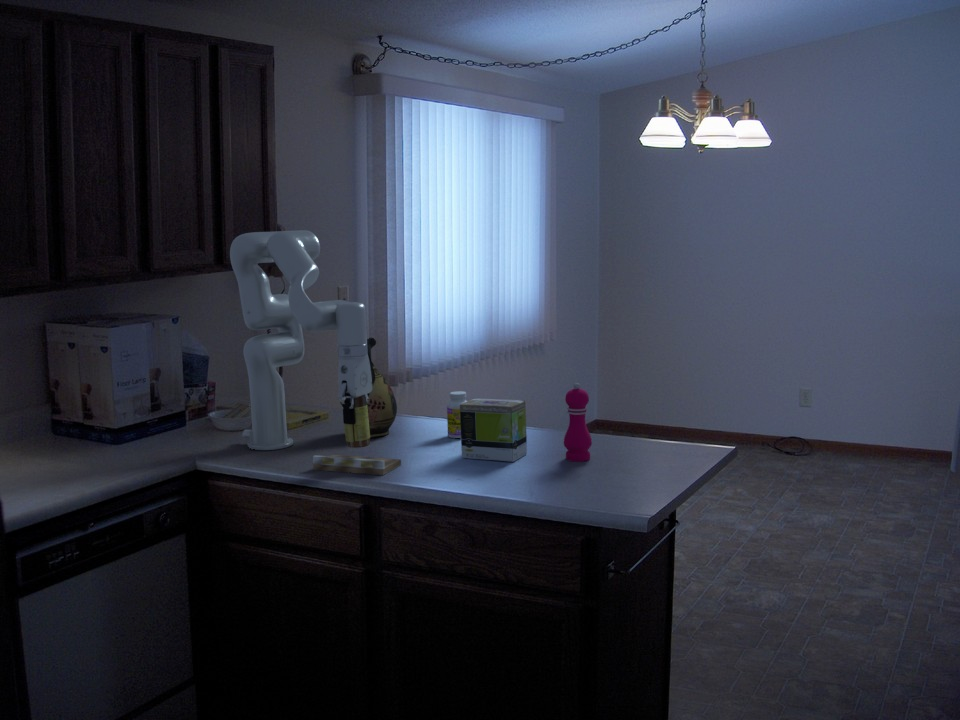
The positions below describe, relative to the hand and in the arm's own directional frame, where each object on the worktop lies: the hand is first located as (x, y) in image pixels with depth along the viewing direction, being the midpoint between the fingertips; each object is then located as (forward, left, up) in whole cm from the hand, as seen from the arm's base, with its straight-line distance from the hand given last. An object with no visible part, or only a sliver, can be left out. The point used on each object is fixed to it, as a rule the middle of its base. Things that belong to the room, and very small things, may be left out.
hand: (356, 420), depth 256 cm
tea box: (+30, +20, -13) cm, 38 cm away
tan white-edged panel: (0, 0, -12) cm, 12 cm away
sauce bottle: (0, 0, -7) cm, 7 cm away
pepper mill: (+52, +23, -12) cm, 58 cm away
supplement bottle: (+12, +39, -12) cm, 42 cm away
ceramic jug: (-14, +34, -12) cm, 38 cm away
